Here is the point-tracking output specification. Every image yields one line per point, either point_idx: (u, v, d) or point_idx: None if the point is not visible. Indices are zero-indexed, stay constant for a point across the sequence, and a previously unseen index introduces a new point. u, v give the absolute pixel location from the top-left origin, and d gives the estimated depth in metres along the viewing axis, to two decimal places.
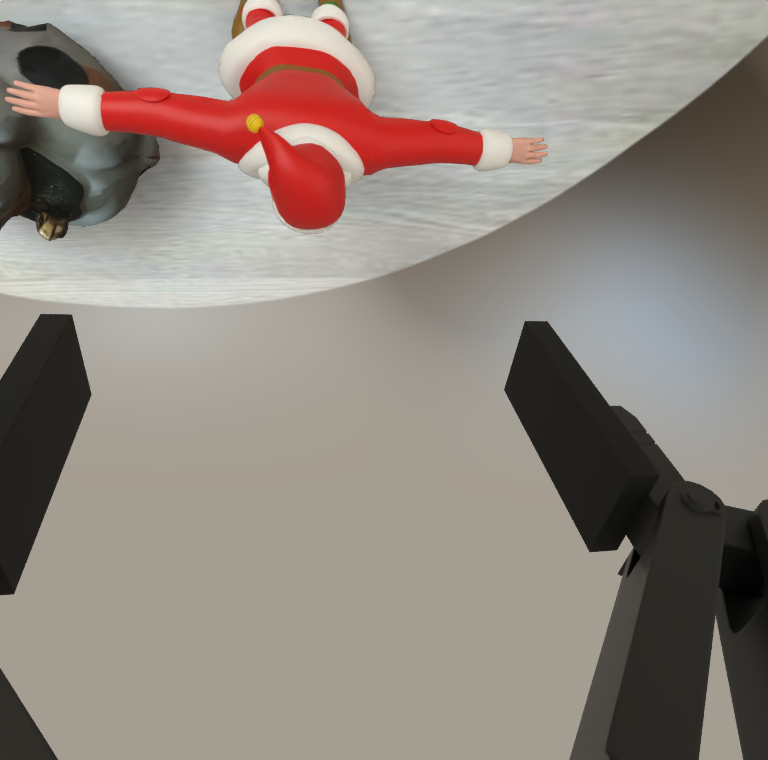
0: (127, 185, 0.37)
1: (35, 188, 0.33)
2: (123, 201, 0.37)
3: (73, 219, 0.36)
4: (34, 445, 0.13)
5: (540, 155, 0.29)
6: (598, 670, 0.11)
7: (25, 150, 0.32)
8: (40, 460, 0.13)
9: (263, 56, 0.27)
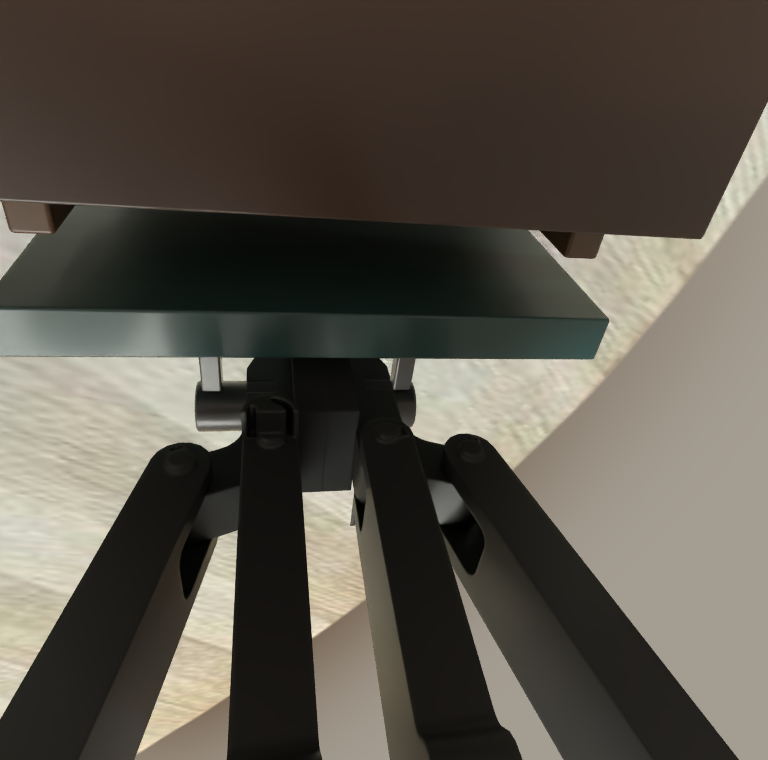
0: None
1: None
2: None
3: None
4: None
5: None
6: (374, 635, 0.11)
7: None
8: None
9: None
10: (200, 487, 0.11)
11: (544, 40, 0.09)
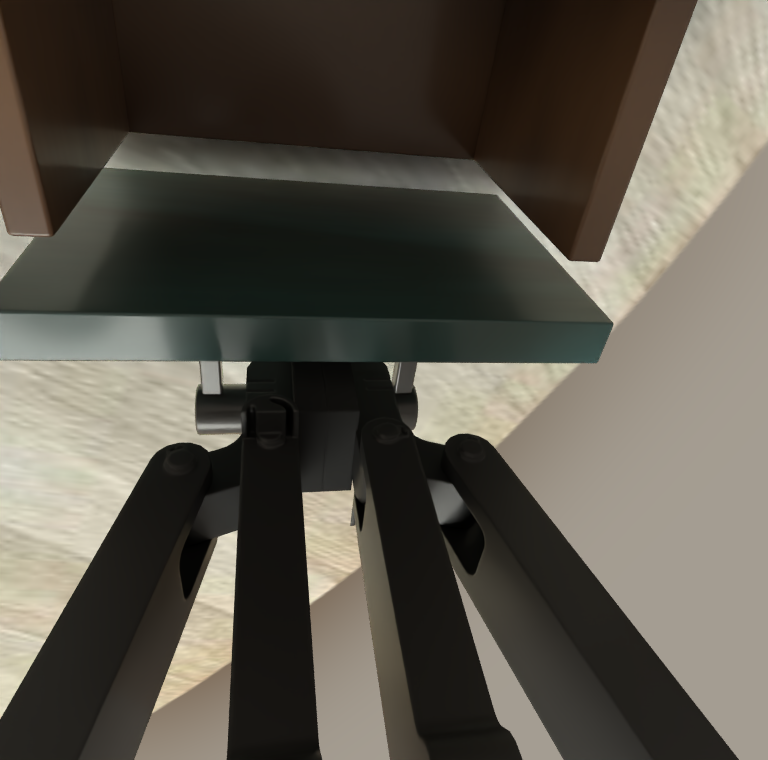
0: None
1: None
2: None
3: None
4: None
5: None
6: (374, 636, 0.11)
7: None
8: None
9: None
10: (200, 487, 0.11)
11: None
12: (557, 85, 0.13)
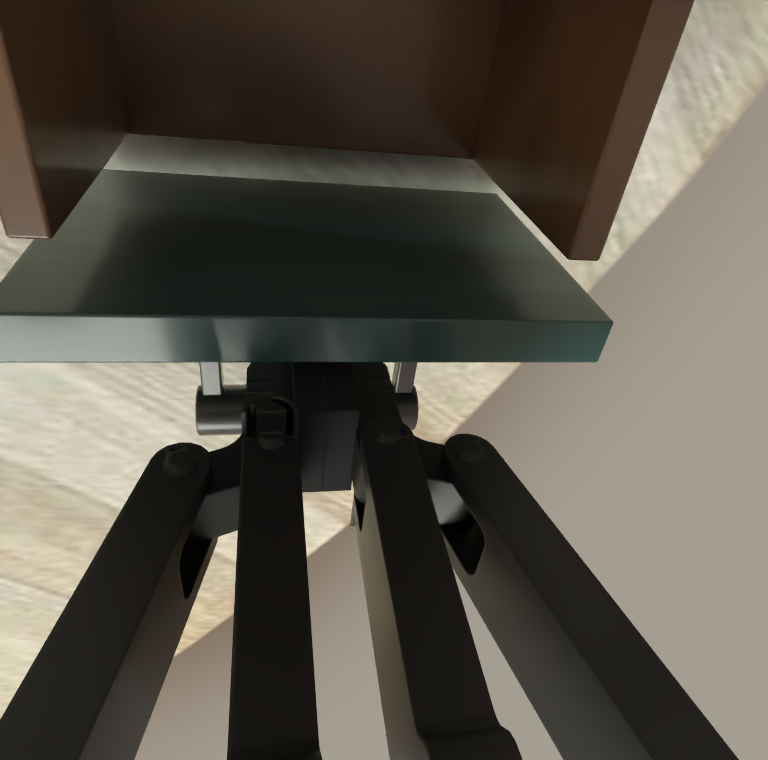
0: None
1: None
2: None
3: None
4: None
5: None
6: (374, 635, 0.11)
7: None
8: None
9: None
10: (200, 487, 0.11)
11: None
12: (557, 84, 0.13)
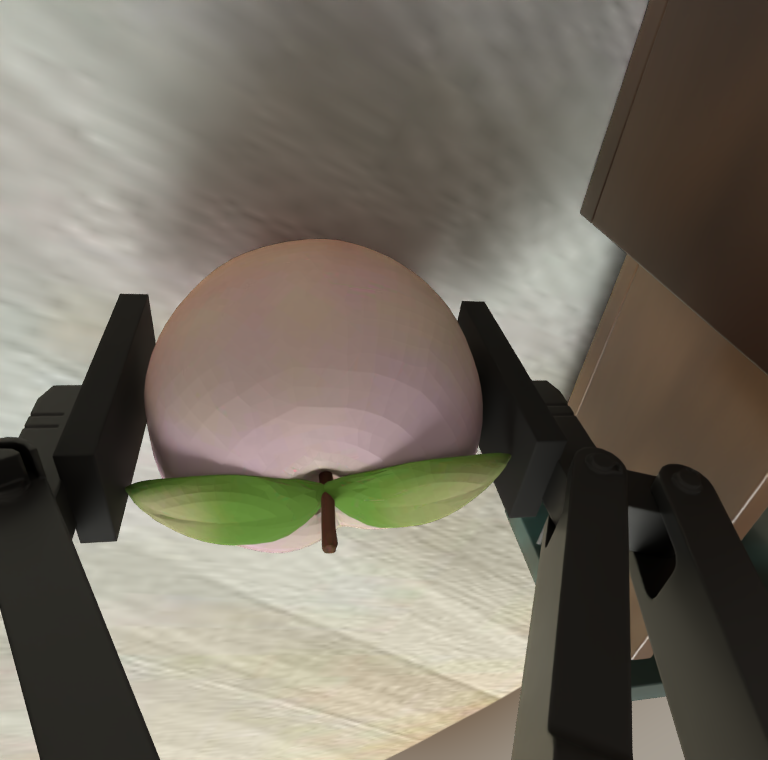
0: None
1: None
2: None
3: None
4: (127, 409, 0.14)
5: None
6: (530, 644, 0.11)
7: None
8: (130, 424, 0.14)
9: None
10: None
11: None
12: None
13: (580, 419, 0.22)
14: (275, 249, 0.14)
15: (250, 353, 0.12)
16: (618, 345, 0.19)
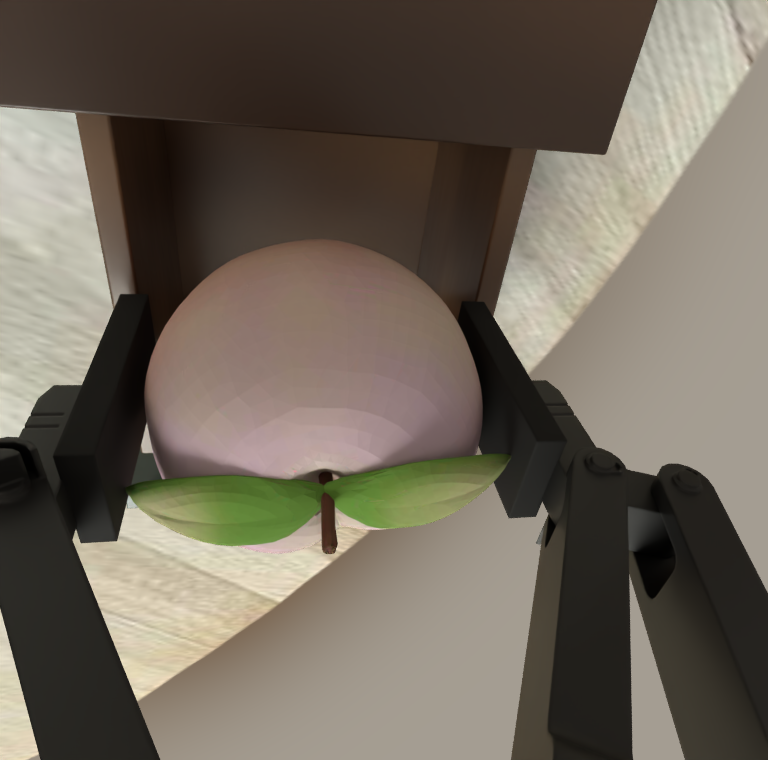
0: None
1: None
2: None
3: None
4: (127, 409, 0.14)
5: None
6: (530, 644, 0.11)
7: None
8: (131, 424, 0.14)
9: None
10: None
11: None
12: None
13: None
14: (275, 250, 0.14)
15: (250, 354, 0.12)
16: None
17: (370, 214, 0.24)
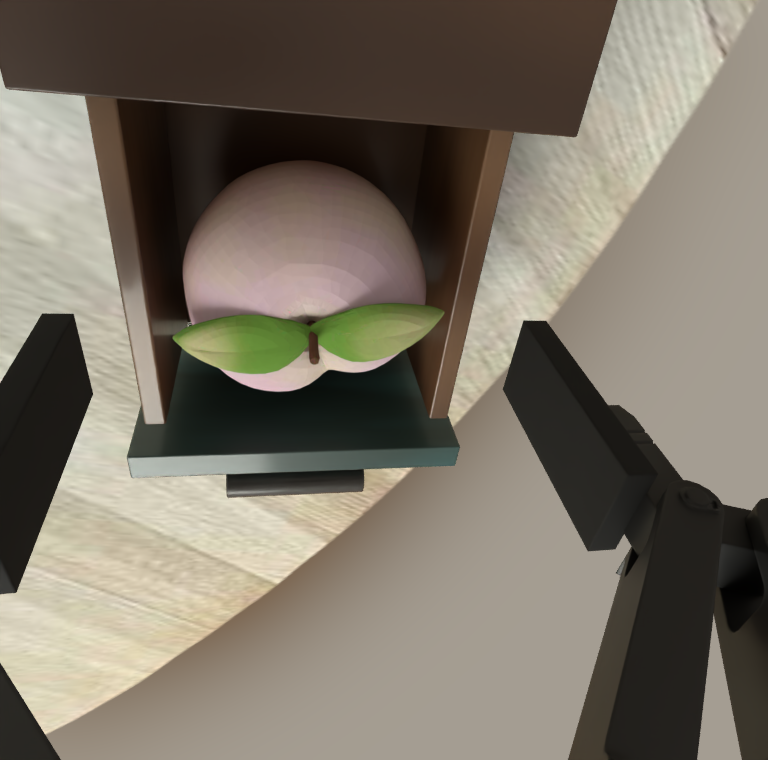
0: None
1: None
2: None
3: None
4: (36, 444, 0.13)
5: None
6: (596, 669, 0.11)
7: None
8: (42, 459, 0.13)
9: None
10: None
11: None
12: None
13: None
14: (271, 166, 0.19)
15: (256, 229, 0.18)
16: None
17: None
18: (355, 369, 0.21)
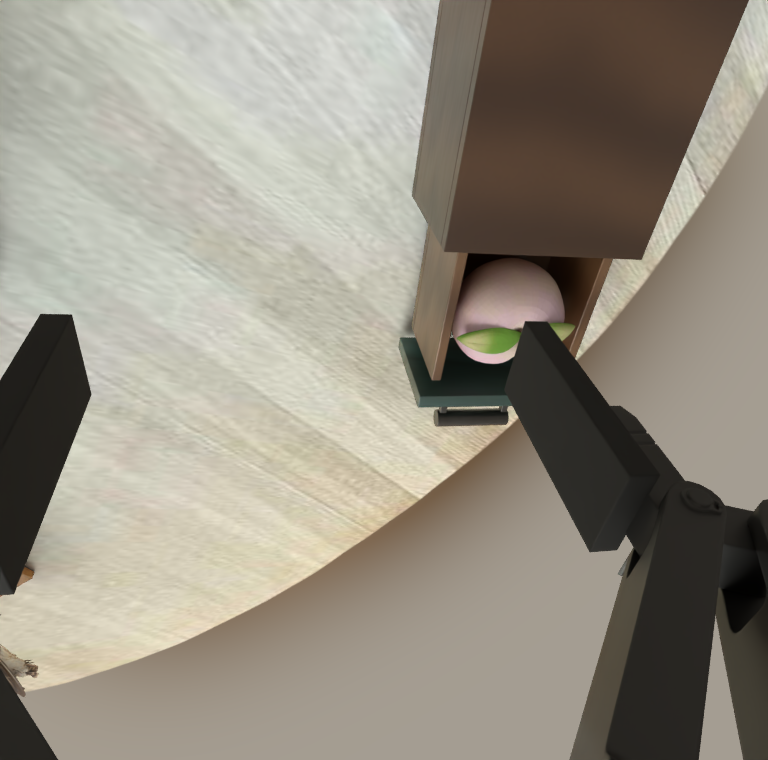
0: None
1: None
2: None
3: None
4: (34, 445, 0.13)
5: None
6: (598, 670, 0.11)
7: None
8: (40, 460, 0.13)
9: None
10: None
11: (599, 215, 0.38)
12: None
13: (421, 289, 0.49)
14: (501, 262, 0.44)
15: (504, 292, 0.42)
16: (428, 251, 0.46)
17: None
18: None
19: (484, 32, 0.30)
